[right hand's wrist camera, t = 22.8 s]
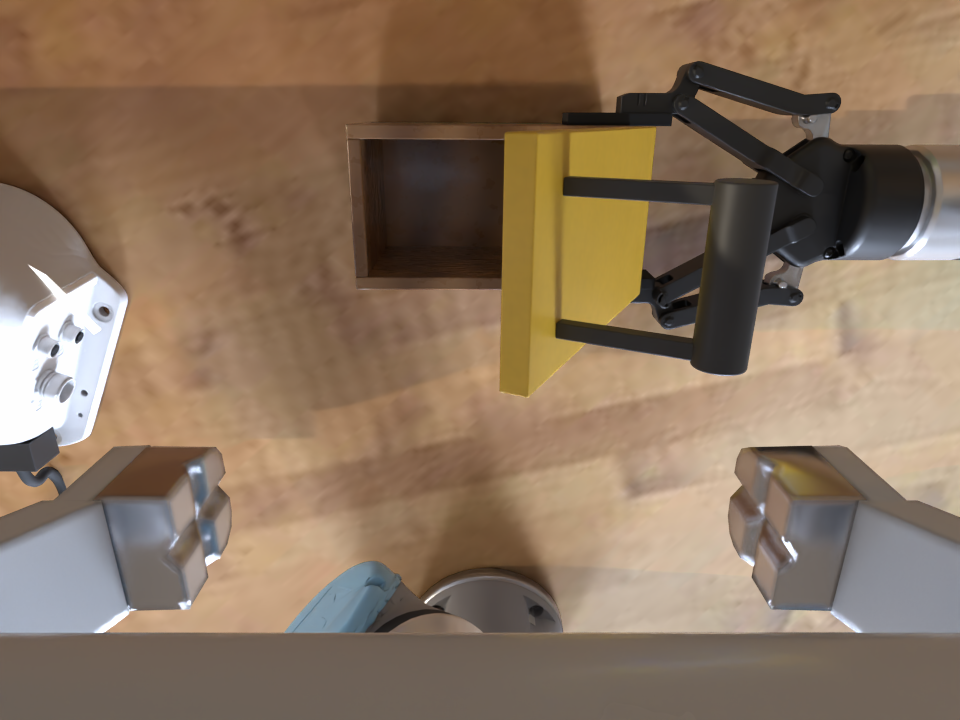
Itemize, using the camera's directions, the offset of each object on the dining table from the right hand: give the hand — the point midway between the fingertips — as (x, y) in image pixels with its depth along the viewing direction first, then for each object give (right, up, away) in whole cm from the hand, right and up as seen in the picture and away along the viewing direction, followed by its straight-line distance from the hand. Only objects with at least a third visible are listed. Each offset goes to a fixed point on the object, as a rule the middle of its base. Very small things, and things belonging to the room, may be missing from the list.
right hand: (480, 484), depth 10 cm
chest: (+1, +15, +39) cm, 42 cm away
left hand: (+5, +13, +33) cm, 35 cm away
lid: (+5, +8, +21) cm, 23 cm away
